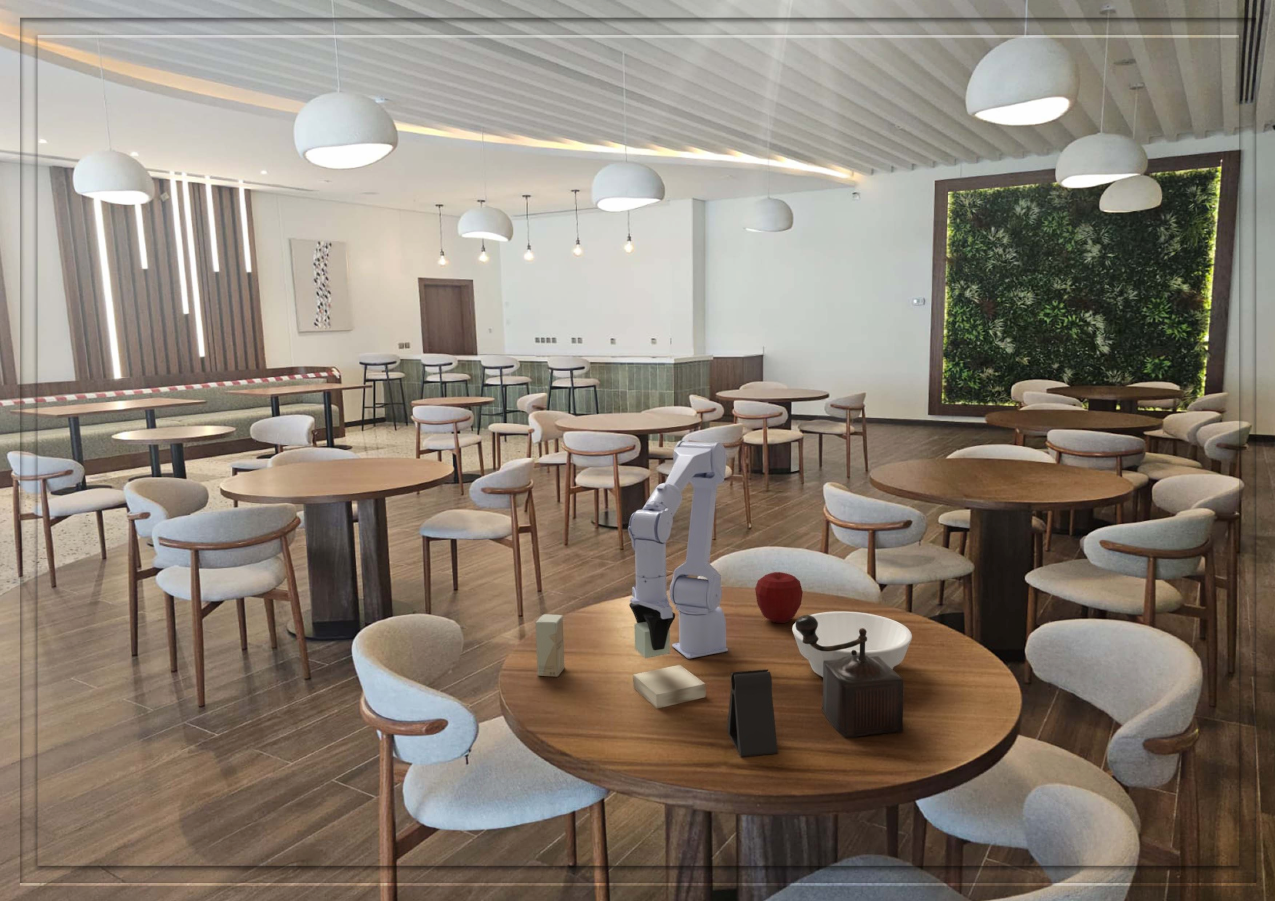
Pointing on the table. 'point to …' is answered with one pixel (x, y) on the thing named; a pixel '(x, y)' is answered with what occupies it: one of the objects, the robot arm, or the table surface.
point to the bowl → (844, 627)
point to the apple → (779, 596)
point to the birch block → (669, 686)
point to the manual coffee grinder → (857, 688)
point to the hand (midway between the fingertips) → (652, 643)
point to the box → (550, 645)
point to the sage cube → (648, 642)
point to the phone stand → (752, 713)
